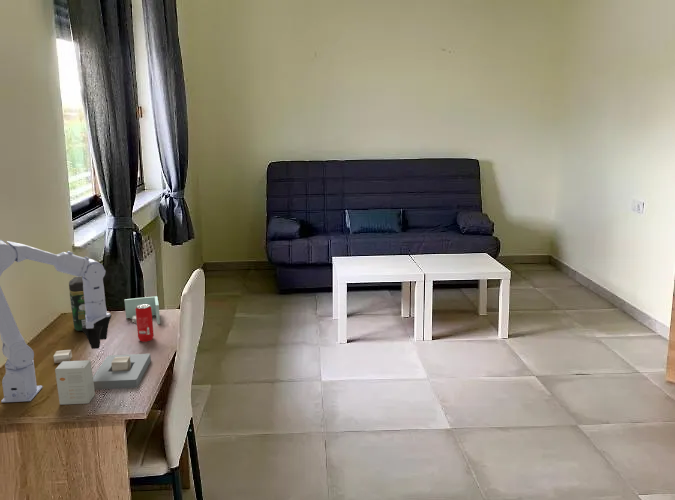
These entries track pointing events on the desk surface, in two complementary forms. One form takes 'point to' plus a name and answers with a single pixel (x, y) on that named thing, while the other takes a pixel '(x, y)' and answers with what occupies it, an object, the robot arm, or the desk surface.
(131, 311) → the l-shaped corner panel
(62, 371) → the small box
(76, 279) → the coffee jar
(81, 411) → the desk surface
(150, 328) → the beverage can
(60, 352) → the short peg
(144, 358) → the hole board
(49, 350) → the desk surface
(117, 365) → the cream square block
